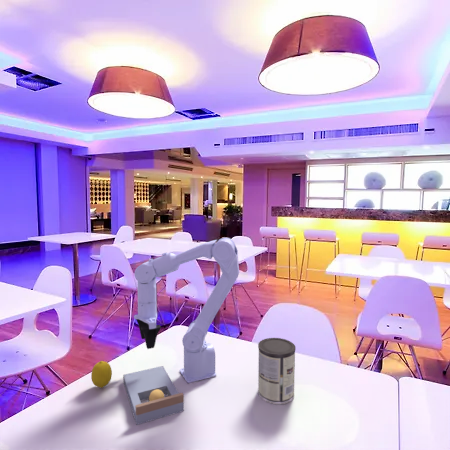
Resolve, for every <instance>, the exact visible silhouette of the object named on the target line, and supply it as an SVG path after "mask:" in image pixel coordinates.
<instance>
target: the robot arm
mask: <svg viewBox="0 0 450 450" xmlns="http://www.w3.org/2000/svg"><path fill="white" fill-rule="evenodd" d="M238 251H239V250H238V248H237V246H236V244H235V241H234V240H233V239H232V238H231V237H222V238H220V239H213V240H211V241H206V242H204V243H202V244H199V245H196V246H195V247H191V248H189V249H187V250H185V251H183V252H180V253H177V254H175V253H173V252H169V253H168V251H166V252H164V253H162V255H161V256H158V257H156V258H154V259H153V258H149V259H148V261H145V262H143V263H141V264H140V265H138V266H137V267H136V268H135V271H134V277H135V279H136V280H135V281H137V314H135V315H133V318H134V320H135V321H136V322H137V324H138V325H137V326H138V328H139V333H140V337H141V339H142V340H144V342H145V346H146V348H147V350H149V349H154V348H155V345H156V341H157V337H158V334H159V332H160V331H161V325H160V324H157V318H158V311H157V308H158V307H157V300H158V299H157V278H160V277H163V276H166V275H168V274H171V273H173V272H176V271H178V270H179V267H180V266H181V265H182V264H185V263H189V262H192V261H194V260H197V259H200V258H205V259H208V260H212V259H214V260H215V262H217V264H218V265H219V268H220V270H221V273H222V274H221V276H220V277H219V278H218V280H217V283H216V285H214V288H213V290H212V291H211V293H210V294H209V297H208V298H207V300H206V301H205V303H204V305H203V307H202V309H201V310H200V311H199V314H198V316H197V317H196V318H195V320H193V321H192V322H191V323H190V324H189V325H188V329H187V330H186V332H185V334H184V335H183V337H182V339H181V340H182V345H183V368H180V369H179V372H180V373H181V376H182V377H183V378H184V379H185V382H186V383H188V384H190V383H194V382H199V381H202V380H205V379H209V378H213V377H216V376H217V373H216V351H215V348H214V345H213V344H212V343H211V342H207V341H206V337H207V334H208V331H209V329H210V326H211V324H212V322H213V321H214V319H215V317H216V316H217V314H218V312H219V310H221V307H222V305H223V303H224V301H225V299H227V296H228V294H229V293H230V291H231V290H232V287H233V286H234V284H235V282H236V281H237V279H238V277H239V275H240V267H239V265H240V263H239V252H238Z"/></svg>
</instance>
